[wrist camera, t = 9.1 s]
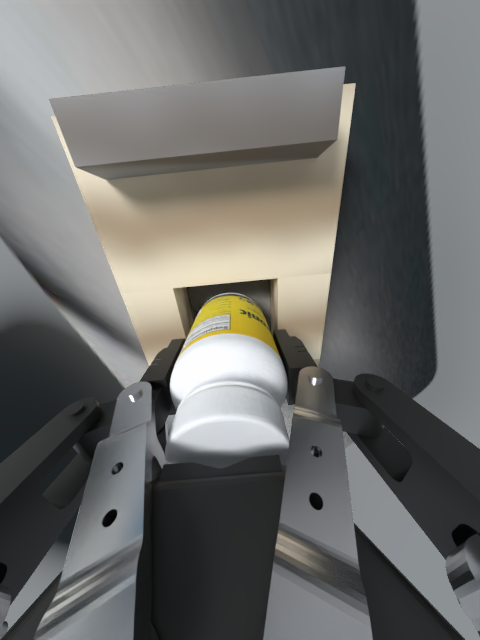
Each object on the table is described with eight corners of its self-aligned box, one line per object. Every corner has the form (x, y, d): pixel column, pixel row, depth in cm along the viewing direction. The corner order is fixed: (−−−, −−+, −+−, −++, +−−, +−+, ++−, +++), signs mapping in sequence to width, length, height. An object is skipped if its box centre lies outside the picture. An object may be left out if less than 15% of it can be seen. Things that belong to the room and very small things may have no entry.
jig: (96, 145, 11) (0, 83, 6) (325, 120, 11) (390, 40, 6) (171, 372, 19) (151, 415, 14) (305, 359, 19) (327, 400, 14)
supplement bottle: (274, 335, 15) (332, 478, 6) (217, 359, 16) (198, 514, 7) (247, 277, 13) (278, 371, 4) (183, 308, 14) (95, 441, 5)
